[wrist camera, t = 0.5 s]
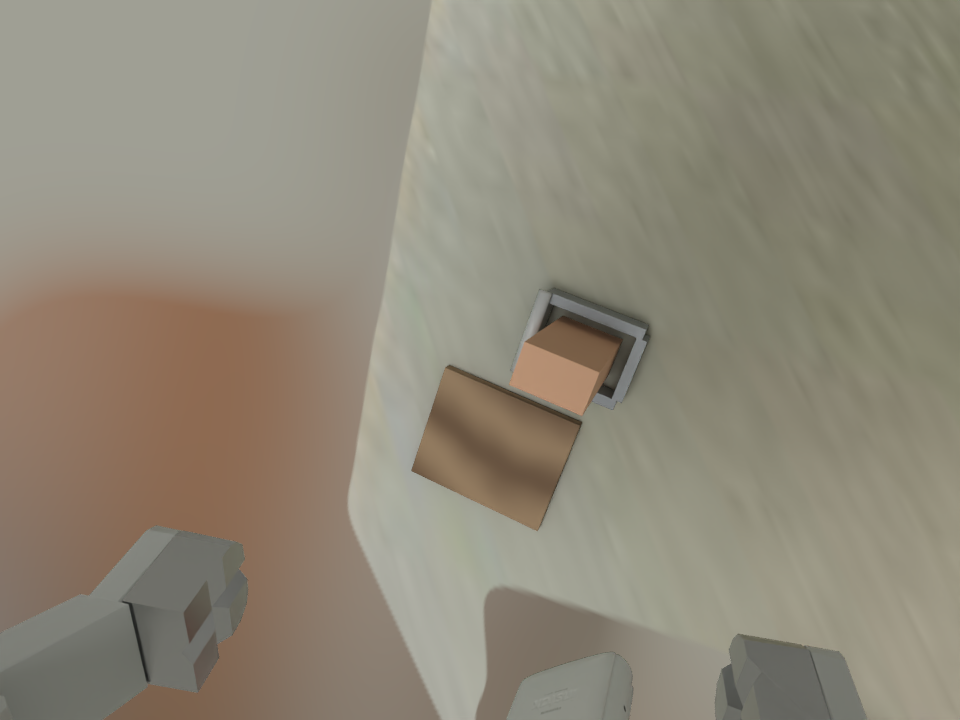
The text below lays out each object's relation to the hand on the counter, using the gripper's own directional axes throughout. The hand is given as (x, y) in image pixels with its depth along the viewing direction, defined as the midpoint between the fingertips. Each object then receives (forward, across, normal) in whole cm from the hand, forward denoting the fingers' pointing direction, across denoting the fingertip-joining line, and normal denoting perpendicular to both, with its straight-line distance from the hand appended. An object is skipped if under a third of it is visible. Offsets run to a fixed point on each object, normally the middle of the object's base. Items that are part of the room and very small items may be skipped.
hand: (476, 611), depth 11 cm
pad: (+40, +3, +25) cm, 47 cm away
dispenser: (+41, -3, +15) cm, 44 cm away
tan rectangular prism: (+41, -3, +15) cm, 44 cm away
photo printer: (+33, -7, +43) cm, 55 cm away
